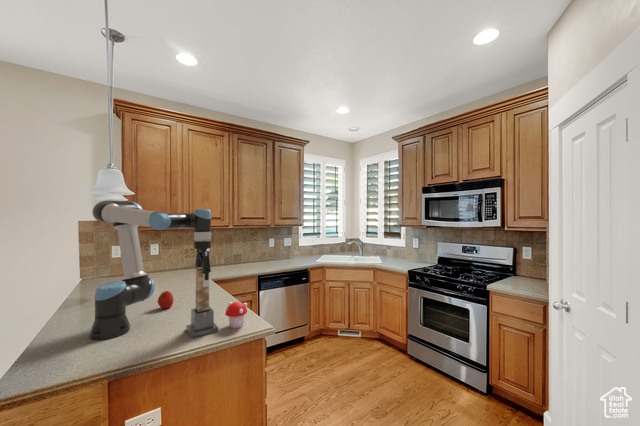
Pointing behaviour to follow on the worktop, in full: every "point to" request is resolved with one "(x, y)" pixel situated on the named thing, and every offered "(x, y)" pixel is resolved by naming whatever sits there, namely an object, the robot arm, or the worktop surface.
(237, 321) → the mushroom
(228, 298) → the worktop surface
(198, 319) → the sleeve
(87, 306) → the worktop surface
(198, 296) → the post
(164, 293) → the apple
